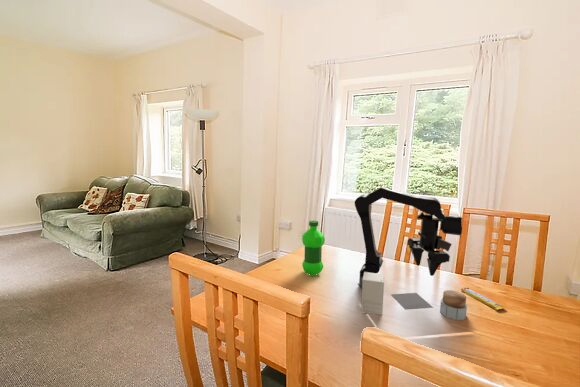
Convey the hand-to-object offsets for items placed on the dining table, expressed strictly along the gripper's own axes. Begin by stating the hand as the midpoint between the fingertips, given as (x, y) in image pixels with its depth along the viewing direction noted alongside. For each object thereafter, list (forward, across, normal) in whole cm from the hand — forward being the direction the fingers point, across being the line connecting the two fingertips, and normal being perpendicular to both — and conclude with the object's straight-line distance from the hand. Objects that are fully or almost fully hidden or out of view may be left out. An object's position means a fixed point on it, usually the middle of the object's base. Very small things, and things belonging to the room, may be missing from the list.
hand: (424, 270), depth 111 cm
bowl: (+12, -12, -5) cm, 17 cm away
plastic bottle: (+13, +27, +38) cm, 49 cm away
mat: (+12, -2, +6) cm, 13 cm away
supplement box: (+12, -5, +22) cm, 26 cm away
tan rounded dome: (+7, -12, -5) cm, 14 cm away
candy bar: (+12, -3, -23) cm, 26 cm away
